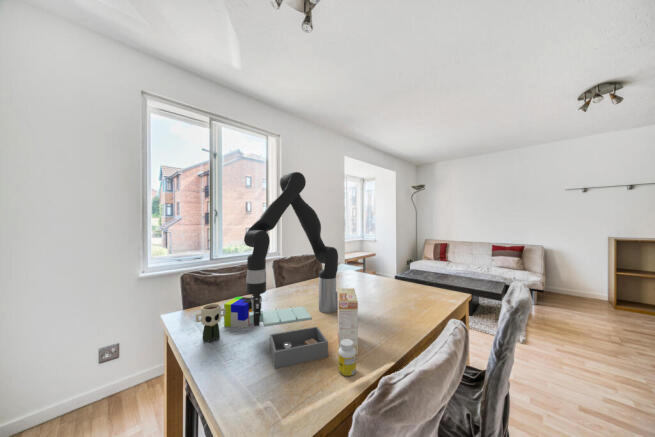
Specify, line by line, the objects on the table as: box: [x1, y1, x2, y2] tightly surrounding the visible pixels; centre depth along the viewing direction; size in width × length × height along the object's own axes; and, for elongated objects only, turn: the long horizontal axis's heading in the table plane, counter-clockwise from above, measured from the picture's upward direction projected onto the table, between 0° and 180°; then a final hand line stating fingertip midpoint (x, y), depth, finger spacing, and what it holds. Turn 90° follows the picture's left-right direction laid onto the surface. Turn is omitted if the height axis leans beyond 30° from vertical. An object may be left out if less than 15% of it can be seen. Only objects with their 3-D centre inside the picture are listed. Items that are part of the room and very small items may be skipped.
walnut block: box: [304, 339, 318, 345], centre depth 83 cm, size 4×4×4 cm
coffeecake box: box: [337, 287, 359, 355], centre depth 89 cm, size 15×7×20 cm, turn 178°
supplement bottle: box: [338, 339, 357, 378], centre depth 73 cm, size 5×5×10 cm
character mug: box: [195, 303, 226, 343], centre depth 94 cm, size 11×7×13 cm, turn 127°
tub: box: [269, 326, 329, 370], centre depth 83 cm, size 18×12×6 cm, turn 110°
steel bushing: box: [283, 342, 292, 349], centre depth 83 cm, size 3×3×3 cm
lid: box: [249, 306, 313, 328], centre depth 96 cm, size 24×13×3 cm, turn 110°
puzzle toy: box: [223, 296, 252, 329], centre depth 109 cm, size 10×10×10 cm
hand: (256, 323), depth 93 cm, fingers closed on lid, 3 cm apart
